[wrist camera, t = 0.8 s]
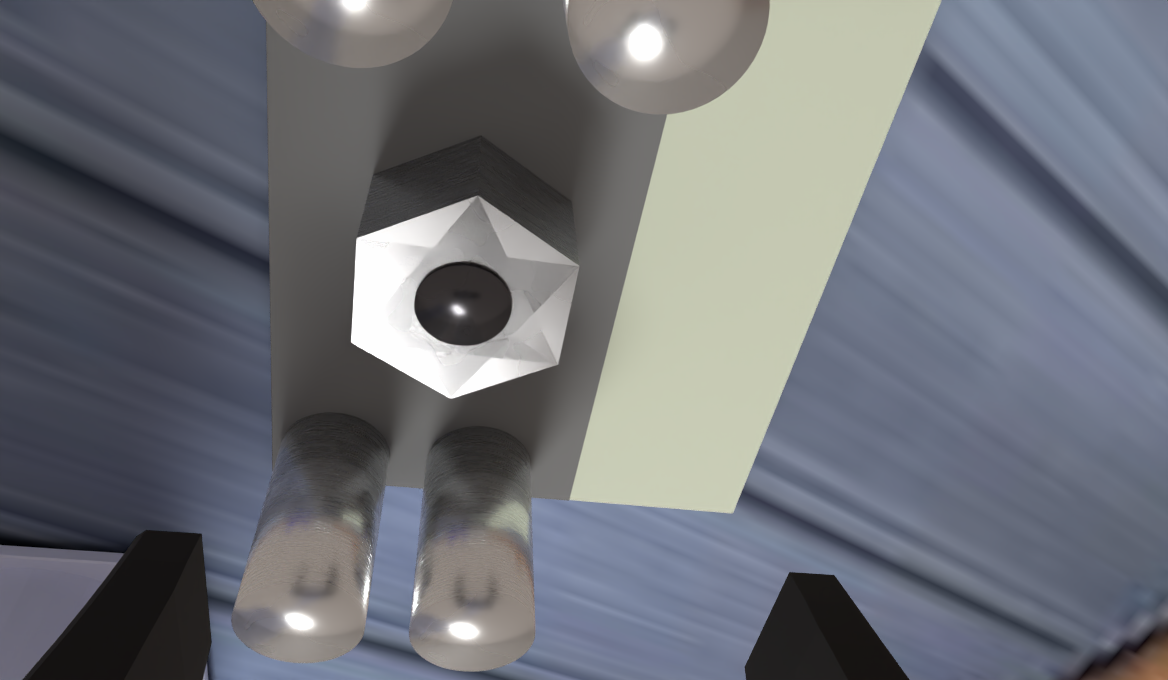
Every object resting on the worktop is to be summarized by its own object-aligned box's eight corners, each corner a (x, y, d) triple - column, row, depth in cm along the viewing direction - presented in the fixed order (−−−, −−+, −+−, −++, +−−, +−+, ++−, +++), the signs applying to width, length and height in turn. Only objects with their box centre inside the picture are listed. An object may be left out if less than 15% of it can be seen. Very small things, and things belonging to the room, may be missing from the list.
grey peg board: (559, 507, 24) (570, 676, 20) (280, 485, 23) (233, 659, 19) (720, -143, 15) (797, -71, 11) (275, -235, 14) (184, -190, 10)
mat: (729, 503, 25) (732, 514, 25) (276, 464, 23) (272, 476, 23) (962, -77, 16) (970, -72, 16) (268, -218, 14) (263, -214, 14)
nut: (602, 277, 20) (613, 348, 18) (408, 342, 21) (397, 417, 19) (536, 114, 18) (540, 175, 16) (320, 193, 18) (296, 260, 16)
